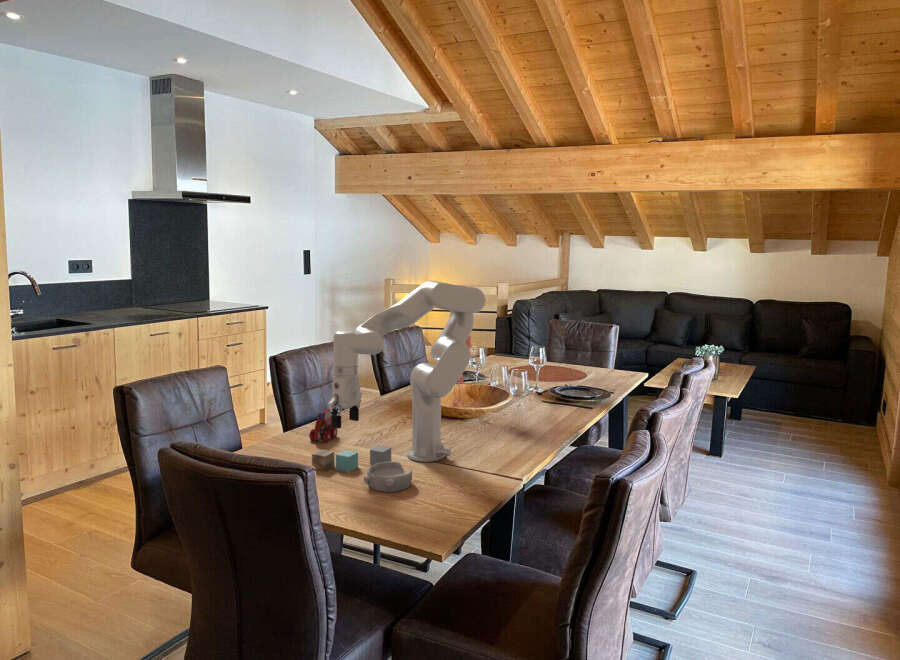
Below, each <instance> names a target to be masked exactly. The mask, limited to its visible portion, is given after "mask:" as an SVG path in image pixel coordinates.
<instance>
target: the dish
mask: <svg viewBox="0 0 900 660" xmlns="http://www.w3.org/2000/svg"><path fill="white" fill-rule="evenodd" d="M412 478H413V470H412V469H410V470H409V471H408V472H406V471H405V469H404V467H403V466H402V463H401V462H398V461H392V460H391V461H390V462H381V463H376V464H375V465H371V466H370V467H369V468H368V470H367V475H365V476H363V481H364V483H365V484H366V485H368V487H370V489H372V490H375V491H378V492H385V493H386V492H387V493H393V492H400V491H403V490H405V489H408V488H409V487H410V486H411V484H412Z"/></svg>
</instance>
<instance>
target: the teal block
mask: <svg viewBox="0 0 900 660" xmlns="http://www.w3.org/2000/svg"><path fill="white" fill-rule="evenodd" d="M357 468H359V453H358V452H357V451H352V450H346V449H345V450H343V451H340V452H338V453H336V454H335V470H336V471H341V472H347V473H350V472H352V471H354V470H355V469H357Z"/></svg>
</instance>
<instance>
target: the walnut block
mask: <svg viewBox="0 0 900 660" xmlns="http://www.w3.org/2000/svg"><path fill="white" fill-rule="evenodd" d="M312 466H314V467H315V468H316V471H321V472H327V471H329V470H331V469H333V468H335V451H334V450H333V451H332V450H327V449H319V450H317V451H315V452H313V453H311V467H312ZM317 469H318V470H317Z"/></svg>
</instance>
